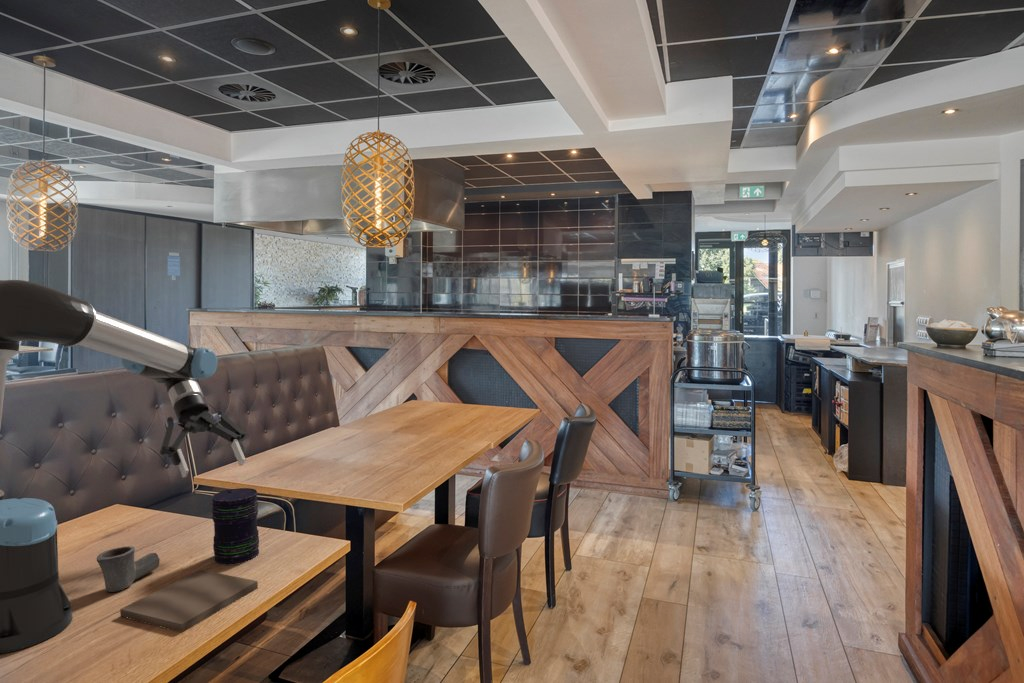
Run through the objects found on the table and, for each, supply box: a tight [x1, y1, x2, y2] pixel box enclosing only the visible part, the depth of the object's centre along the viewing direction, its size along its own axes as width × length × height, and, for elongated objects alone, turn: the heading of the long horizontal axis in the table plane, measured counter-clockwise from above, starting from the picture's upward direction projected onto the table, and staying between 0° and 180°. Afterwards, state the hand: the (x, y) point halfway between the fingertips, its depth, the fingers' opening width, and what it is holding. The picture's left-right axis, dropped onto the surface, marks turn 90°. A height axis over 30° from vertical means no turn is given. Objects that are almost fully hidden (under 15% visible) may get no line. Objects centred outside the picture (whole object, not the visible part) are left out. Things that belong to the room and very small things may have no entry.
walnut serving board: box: [119, 569, 259, 633], centre depth 117 cm, size 18×16×2 cm
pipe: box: [95, 545, 161, 593], centre depth 125 cm, size 6×13×8 cm, turn 164°
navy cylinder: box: [211, 487, 260, 566], centre depth 139 cm, size 10×10×15 cm
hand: (215, 468), depth 145 cm, fingers open, 13 cm apart
